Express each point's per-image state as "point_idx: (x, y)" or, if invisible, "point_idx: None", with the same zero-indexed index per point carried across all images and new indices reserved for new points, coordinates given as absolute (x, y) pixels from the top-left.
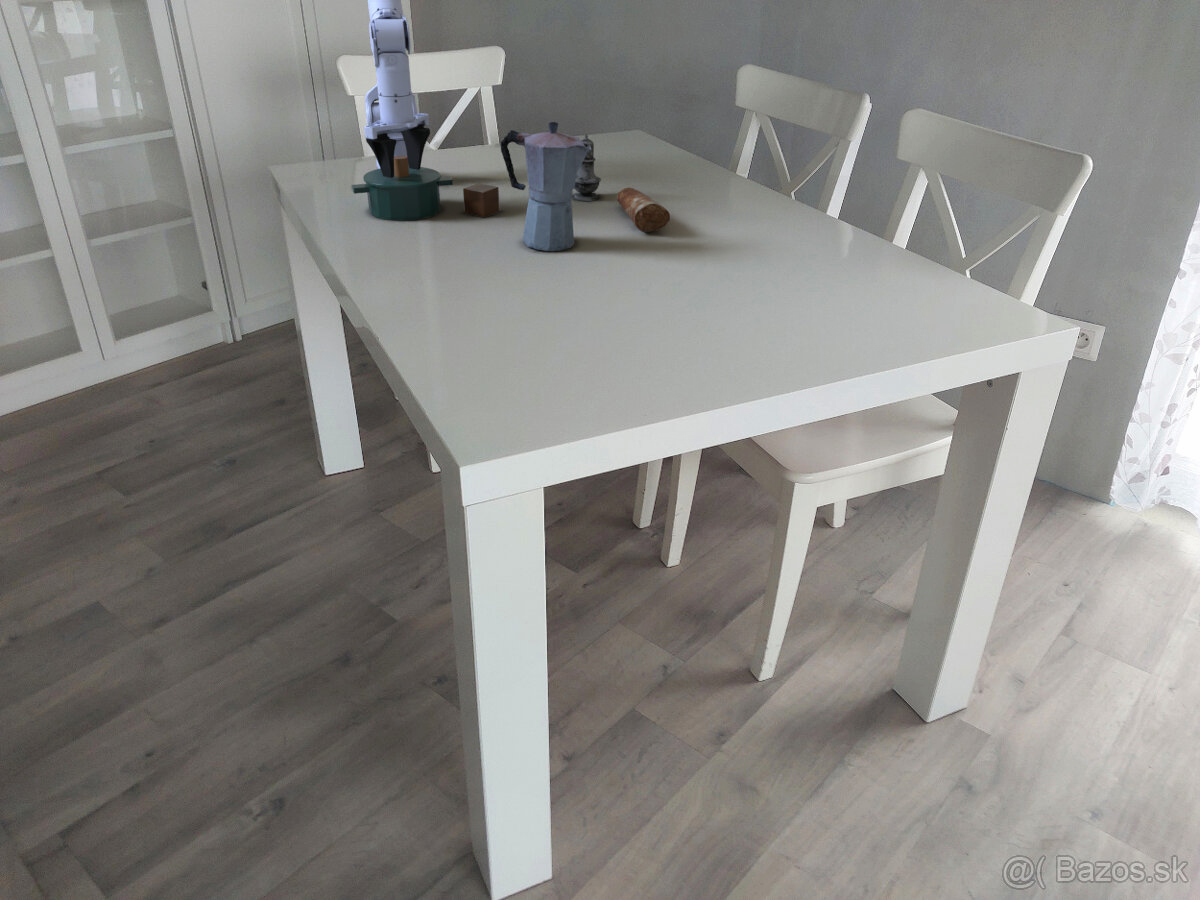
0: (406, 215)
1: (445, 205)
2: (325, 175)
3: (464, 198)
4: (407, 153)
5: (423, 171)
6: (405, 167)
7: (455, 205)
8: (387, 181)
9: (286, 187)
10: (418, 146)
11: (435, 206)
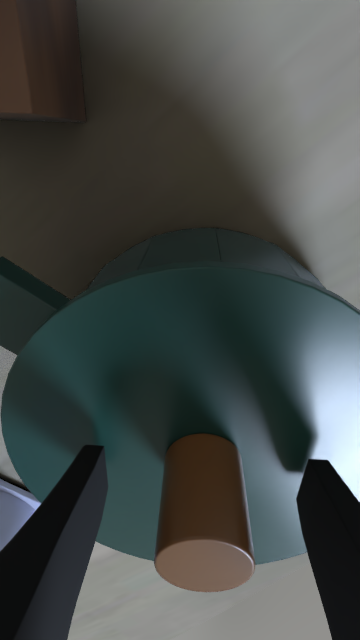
0: (319, 281)
1: (58, 276)
2: (86, 615)
3: (57, 110)
4: (82, 577)
5: (68, 426)
6: (216, 480)
7: (29, 242)
8: (342, 454)
9: (202, 621)
10: (38, 598)
11: (175, 238)
